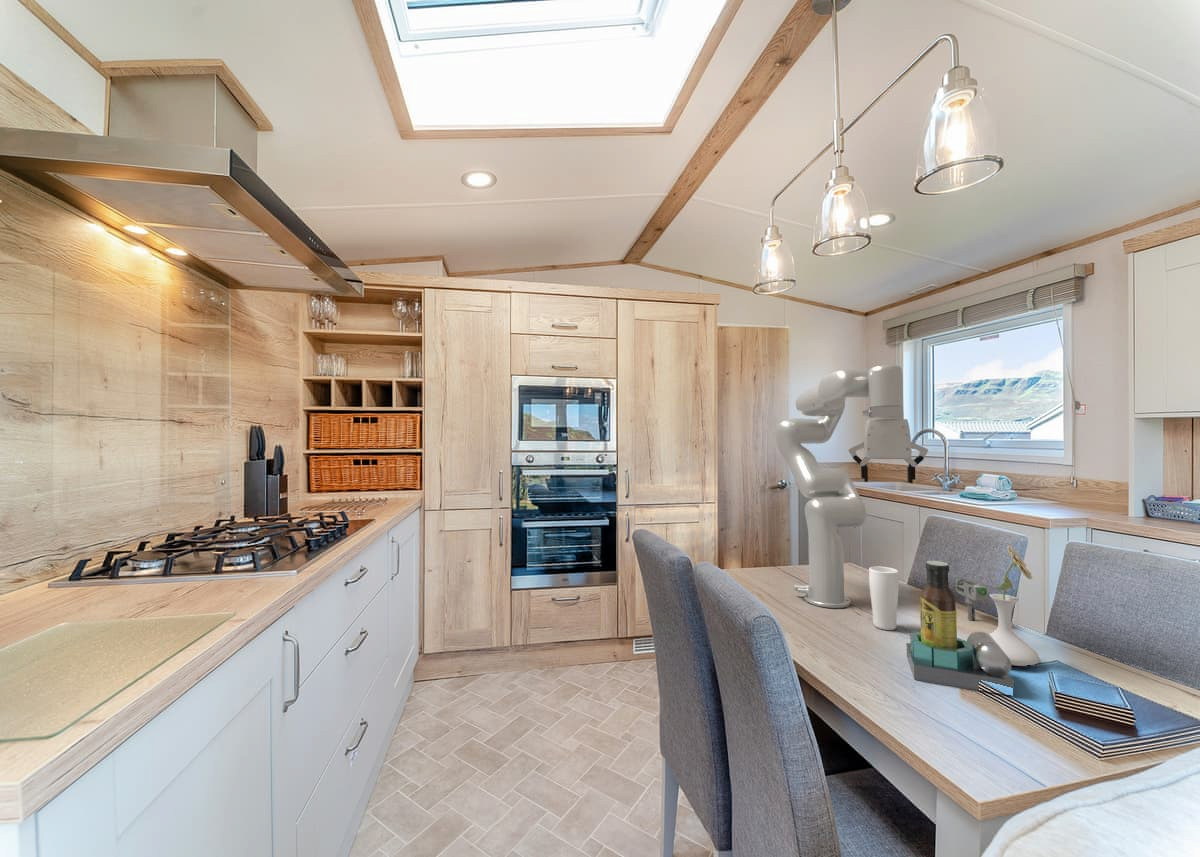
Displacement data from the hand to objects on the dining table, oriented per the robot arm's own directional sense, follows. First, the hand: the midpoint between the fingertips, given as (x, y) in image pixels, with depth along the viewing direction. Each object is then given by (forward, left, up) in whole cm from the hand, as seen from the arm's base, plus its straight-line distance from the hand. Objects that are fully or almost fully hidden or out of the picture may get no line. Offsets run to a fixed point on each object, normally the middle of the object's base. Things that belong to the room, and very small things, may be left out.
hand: (887, 482), depth 123 cm
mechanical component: (+21, +22, -38) cm, 49 cm away
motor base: (+10, -18, -38) cm, 43 cm away
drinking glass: (-1, +6, -38) cm, 39 cm away
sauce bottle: (+7, -18, -36) cm, 40 cm away
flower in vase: (+22, -4, -38) cm, 45 cm away
